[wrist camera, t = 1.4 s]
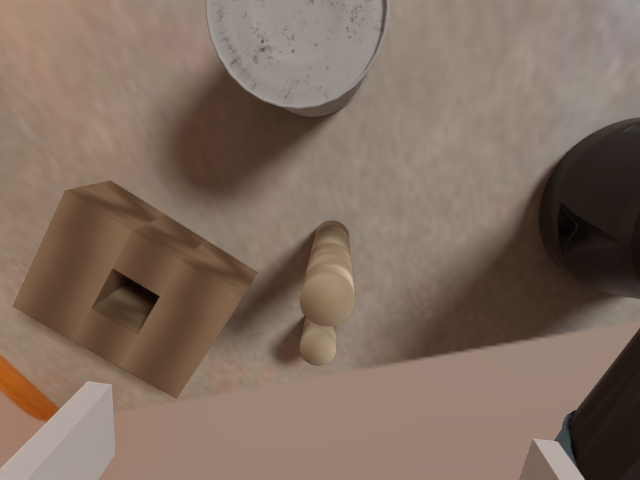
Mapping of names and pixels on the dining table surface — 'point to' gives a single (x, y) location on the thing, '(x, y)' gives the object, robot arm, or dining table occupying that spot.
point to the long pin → (329, 277)
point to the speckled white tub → (299, 48)
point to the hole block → (132, 285)
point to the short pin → (317, 343)
